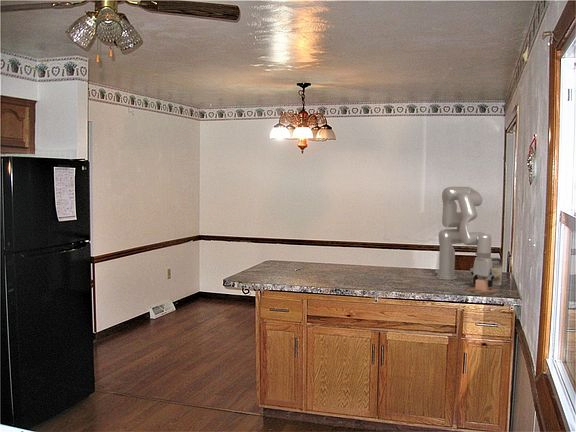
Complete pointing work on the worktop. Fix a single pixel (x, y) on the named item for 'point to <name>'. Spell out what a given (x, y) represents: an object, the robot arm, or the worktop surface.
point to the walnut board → (487, 292)
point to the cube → (482, 284)
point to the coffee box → (498, 269)
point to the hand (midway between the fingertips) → (482, 285)
